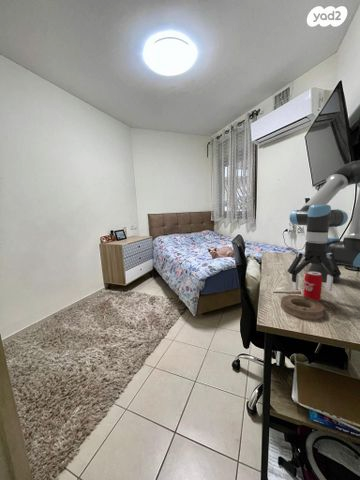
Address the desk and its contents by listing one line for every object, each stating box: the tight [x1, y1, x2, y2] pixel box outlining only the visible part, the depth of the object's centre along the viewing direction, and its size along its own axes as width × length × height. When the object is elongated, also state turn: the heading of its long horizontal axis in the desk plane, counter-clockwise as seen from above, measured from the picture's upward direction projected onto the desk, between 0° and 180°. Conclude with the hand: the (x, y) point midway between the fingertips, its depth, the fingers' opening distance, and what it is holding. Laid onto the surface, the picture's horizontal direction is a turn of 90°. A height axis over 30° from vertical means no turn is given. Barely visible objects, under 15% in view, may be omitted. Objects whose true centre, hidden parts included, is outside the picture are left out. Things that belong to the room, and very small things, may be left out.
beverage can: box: [303, 270, 323, 302], centre depth 84 cm, size 6×6×12 cm
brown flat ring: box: [280, 294, 325, 320], centre depth 76 cm, size 14×14×3 cm
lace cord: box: [272, 289, 302, 294], centre depth 92 cm, size 12×1×1 cm, turn 83°
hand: (311, 289), depth 84 cm, fingers open, 13 cm apart
